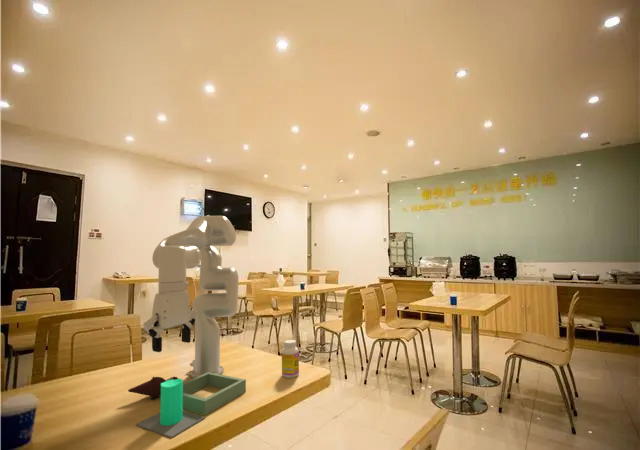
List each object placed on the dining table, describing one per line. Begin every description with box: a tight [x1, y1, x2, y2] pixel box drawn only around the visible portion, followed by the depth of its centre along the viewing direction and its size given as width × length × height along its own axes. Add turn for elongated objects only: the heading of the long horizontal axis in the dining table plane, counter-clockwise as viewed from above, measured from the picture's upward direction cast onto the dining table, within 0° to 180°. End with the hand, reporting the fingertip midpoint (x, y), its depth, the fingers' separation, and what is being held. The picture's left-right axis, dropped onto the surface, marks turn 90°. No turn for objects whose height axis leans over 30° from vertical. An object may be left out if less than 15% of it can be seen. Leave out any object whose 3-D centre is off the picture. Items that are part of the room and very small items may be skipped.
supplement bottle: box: [281, 339, 300, 379], centre depth 126 cm, size 7×7×13 cm
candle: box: [159, 378, 184, 426], centre depth 93 cm, size 6×6×12 cm
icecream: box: [128, 376, 179, 400], centre depth 109 cm, size 7×7×15 cm
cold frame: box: [183, 372, 247, 416], centre depth 108 cm, size 18×18×4 cm
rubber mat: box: [135, 410, 206, 439], centre depth 93 cm, size 15×11×1 cm
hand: (172, 346), depth 95 cm, fingers open, 9 cm apart
